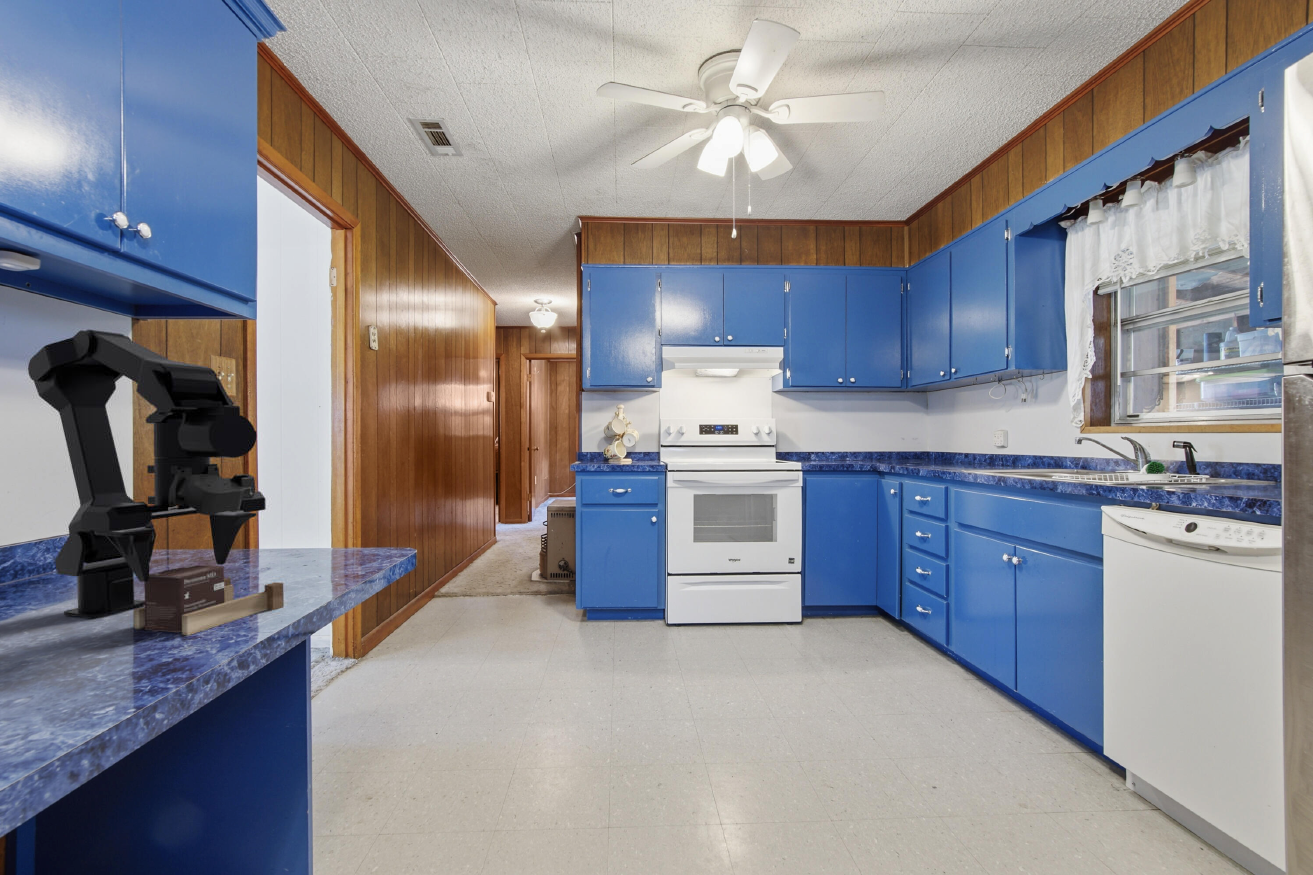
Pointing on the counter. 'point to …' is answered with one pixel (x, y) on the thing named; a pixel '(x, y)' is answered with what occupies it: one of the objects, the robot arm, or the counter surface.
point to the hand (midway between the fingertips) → (184, 572)
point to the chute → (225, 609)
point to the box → (181, 595)
